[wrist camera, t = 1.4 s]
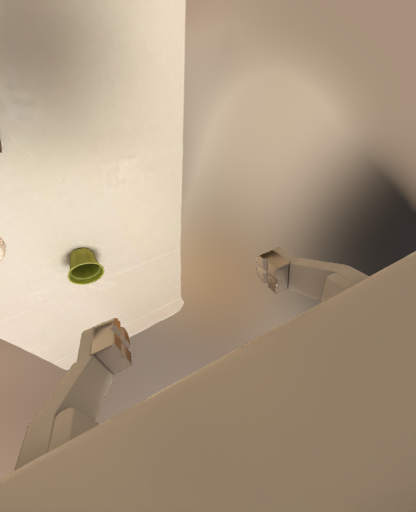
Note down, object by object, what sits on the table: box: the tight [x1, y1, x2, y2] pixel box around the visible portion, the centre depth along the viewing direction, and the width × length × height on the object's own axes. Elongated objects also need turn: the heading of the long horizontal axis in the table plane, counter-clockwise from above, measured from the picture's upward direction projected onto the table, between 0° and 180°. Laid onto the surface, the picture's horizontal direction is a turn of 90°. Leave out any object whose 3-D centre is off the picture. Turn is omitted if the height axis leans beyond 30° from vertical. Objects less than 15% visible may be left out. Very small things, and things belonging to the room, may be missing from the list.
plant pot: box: [68, 248, 104, 285], centre depth 60 cm, size 9×9×9 cm
